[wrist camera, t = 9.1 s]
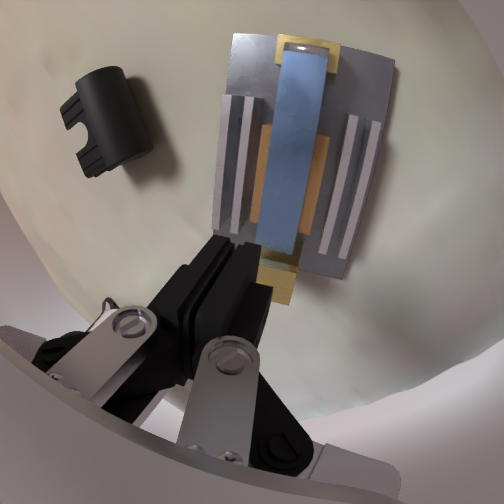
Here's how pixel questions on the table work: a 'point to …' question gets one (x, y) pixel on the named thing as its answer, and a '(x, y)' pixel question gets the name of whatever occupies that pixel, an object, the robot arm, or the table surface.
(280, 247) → the strap
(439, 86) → the table surface
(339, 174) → the block
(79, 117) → the end cap
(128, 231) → the table surface
